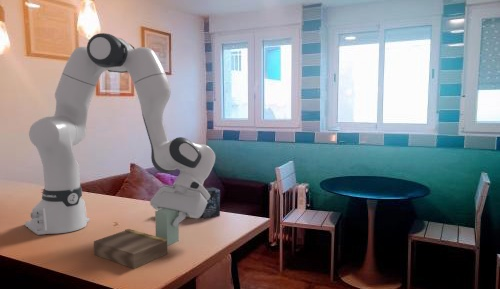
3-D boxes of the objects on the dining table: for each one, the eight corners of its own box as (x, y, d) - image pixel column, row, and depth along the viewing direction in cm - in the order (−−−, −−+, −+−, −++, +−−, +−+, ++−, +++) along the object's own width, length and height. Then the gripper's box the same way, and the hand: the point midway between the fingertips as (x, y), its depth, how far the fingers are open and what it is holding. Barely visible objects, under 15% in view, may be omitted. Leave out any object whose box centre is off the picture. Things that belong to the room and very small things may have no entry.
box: (202, 219, 140) (202, 191, 139) (195, 215, 145) (195, 189, 144) (220, 216, 144) (220, 189, 143) (213, 212, 149) (213, 186, 148)
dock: (94, 254, 106) (93, 240, 106) (128, 241, 116) (127, 228, 116) (134, 268, 97) (133, 253, 96) (167, 253, 107) (167, 239, 107)
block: (155, 242, 116) (155, 211, 115) (167, 237, 120) (166, 207, 119) (167, 245, 113) (166, 214, 112) (178, 240, 117) (178, 210, 116)
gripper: (159, 178, 126) (137, 213, 119) (205, 185, 115) (184, 224, 108) (168, 189, 130) (148, 223, 123) (214, 197, 119) (194, 235, 112)
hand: (165, 224), depth 115 cm, fingers closed on block, 5 cm apart
